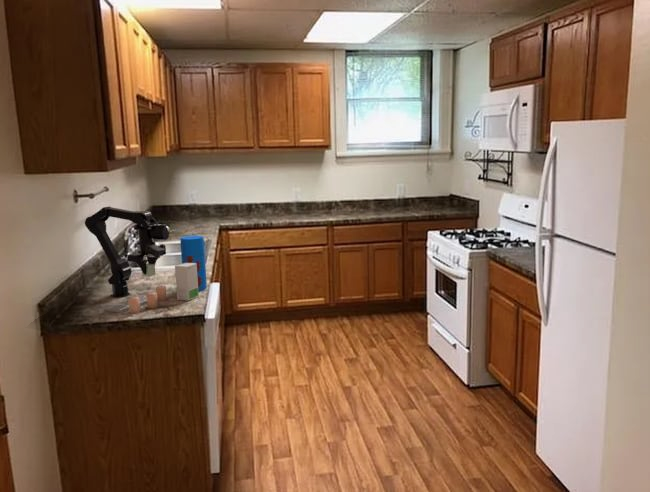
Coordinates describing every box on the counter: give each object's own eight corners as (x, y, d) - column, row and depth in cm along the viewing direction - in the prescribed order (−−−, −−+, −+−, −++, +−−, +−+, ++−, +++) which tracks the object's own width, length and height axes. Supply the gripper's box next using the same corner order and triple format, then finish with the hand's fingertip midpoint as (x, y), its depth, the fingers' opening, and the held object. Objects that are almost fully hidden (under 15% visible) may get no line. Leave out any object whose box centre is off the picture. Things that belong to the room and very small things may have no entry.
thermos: (190, 285, 266) (186, 235, 262) (210, 286, 264) (207, 235, 260) (179, 291, 256) (176, 239, 251) (201, 292, 254) (197, 239, 249)
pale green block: (142, 276, 245) (141, 265, 244) (148, 274, 249) (147, 263, 248) (149, 276, 244) (148, 266, 243) (155, 274, 247) (154, 264, 246)
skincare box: (188, 301, 239) (186, 266, 236) (176, 299, 242) (173, 265, 239) (199, 296, 247) (197, 262, 244) (187, 295, 249) (185, 262, 246)
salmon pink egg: (144, 307, 230) (143, 294, 229) (152, 305, 234) (151, 291, 233) (153, 309, 228) (152, 295, 227) (160, 306, 232) (159, 292, 231)
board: (104, 310, 228) (104, 308, 228) (138, 298, 245) (138, 296, 244) (120, 313, 224) (120, 310, 224) (153, 300, 241) (153, 298, 241)
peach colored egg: (127, 312, 224) (125, 298, 223) (135, 309, 228) (133, 296, 227) (135, 314, 222) (133, 300, 221) (143, 311, 226) (141, 297, 225)
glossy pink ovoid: (154, 300, 241) (153, 287, 240) (161, 298, 245) (160, 285, 244) (162, 301, 239) (161, 288, 238) (168, 299, 243) (167, 286, 242)
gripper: (144, 244, 231) (147, 279, 234) (173, 237, 248) (176, 270, 251) (124, 242, 236) (128, 277, 239) (155, 235, 253) (157, 268, 256)
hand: (148, 273), depth 246 cm, fingers closed on pale green block, 4 cm apart
